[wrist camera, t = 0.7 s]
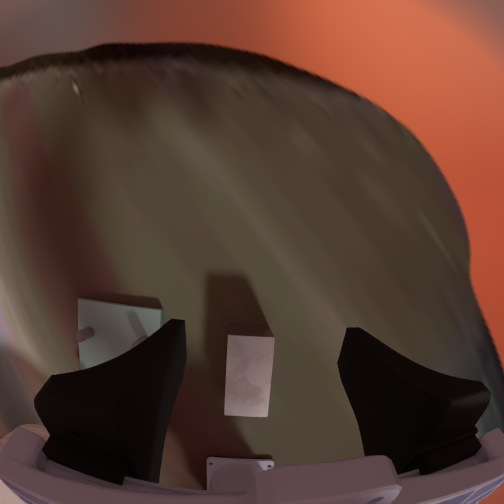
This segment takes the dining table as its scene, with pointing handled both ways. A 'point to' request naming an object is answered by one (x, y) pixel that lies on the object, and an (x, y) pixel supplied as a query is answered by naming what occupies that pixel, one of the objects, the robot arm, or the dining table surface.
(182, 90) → the dining table surface
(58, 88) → the dining table surface
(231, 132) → the dining table surface
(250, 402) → the pale pink block
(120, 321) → the grey plate with pegs
